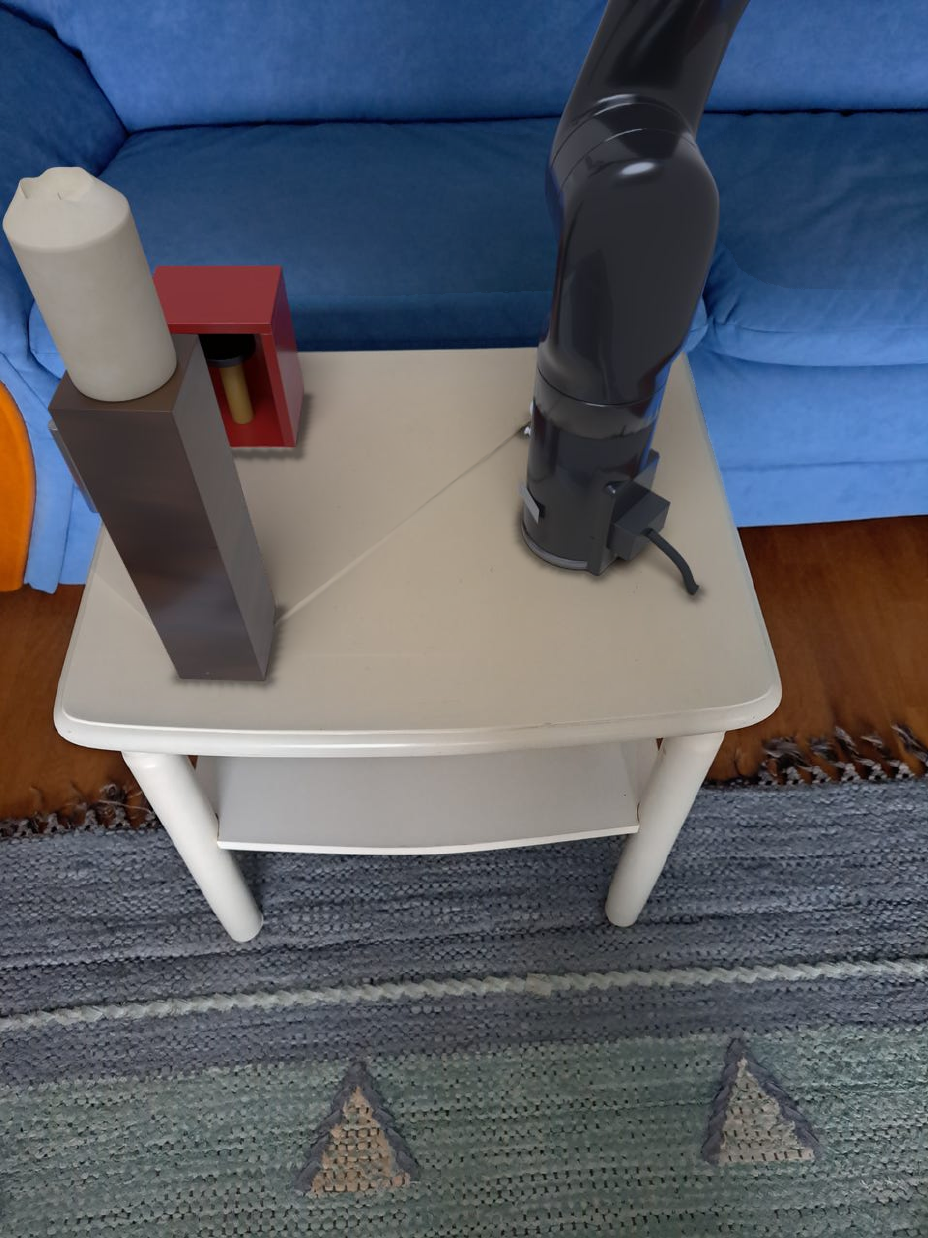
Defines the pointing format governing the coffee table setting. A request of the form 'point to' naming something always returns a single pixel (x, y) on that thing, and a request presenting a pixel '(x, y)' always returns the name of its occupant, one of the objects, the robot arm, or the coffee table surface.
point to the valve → (231, 369)
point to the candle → (91, 283)
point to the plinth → (177, 515)
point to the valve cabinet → (242, 308)
